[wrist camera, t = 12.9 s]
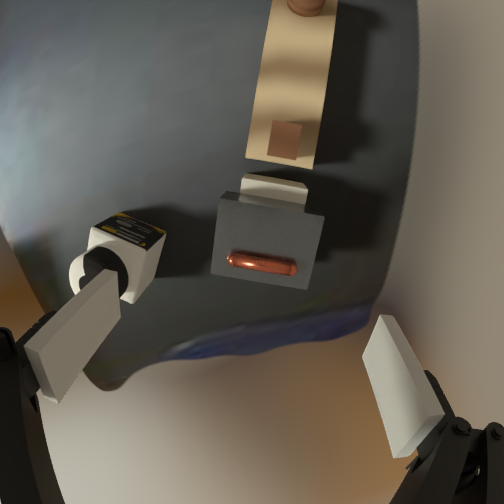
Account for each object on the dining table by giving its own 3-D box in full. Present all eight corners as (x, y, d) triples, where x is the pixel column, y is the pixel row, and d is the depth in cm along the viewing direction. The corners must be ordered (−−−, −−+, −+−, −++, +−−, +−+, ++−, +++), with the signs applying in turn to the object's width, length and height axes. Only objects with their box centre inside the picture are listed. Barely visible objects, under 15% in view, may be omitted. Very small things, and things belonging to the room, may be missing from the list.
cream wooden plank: (276, 0, 25) (276, -38, 17) (330, 10, 25) (346, -25, 16) (249, 155, 32) (241, 159, 24) (306, 165, 32) (318, 173, 24)
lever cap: (226, 191, 29) (216, 201, 24) (318, 206, 29) (327, 220, 24) (217, 257, 31) (207, 279, 26) (303, 271, 31) (308, 296, 26)
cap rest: (246, 173, 33) (242, 178, 28) (303, 182, 33) (308, 189, 28) (234, 255, 36) (228, 272, 32) (286, 264, 36) (288, 282, 32)
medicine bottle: (168, 231, 36) (125, 270, 25) (154, 279, 38) (114, 329, 27) (119, 211, 35) (64, 241, 24) (109, 258, 38) (59, 300, 27)
